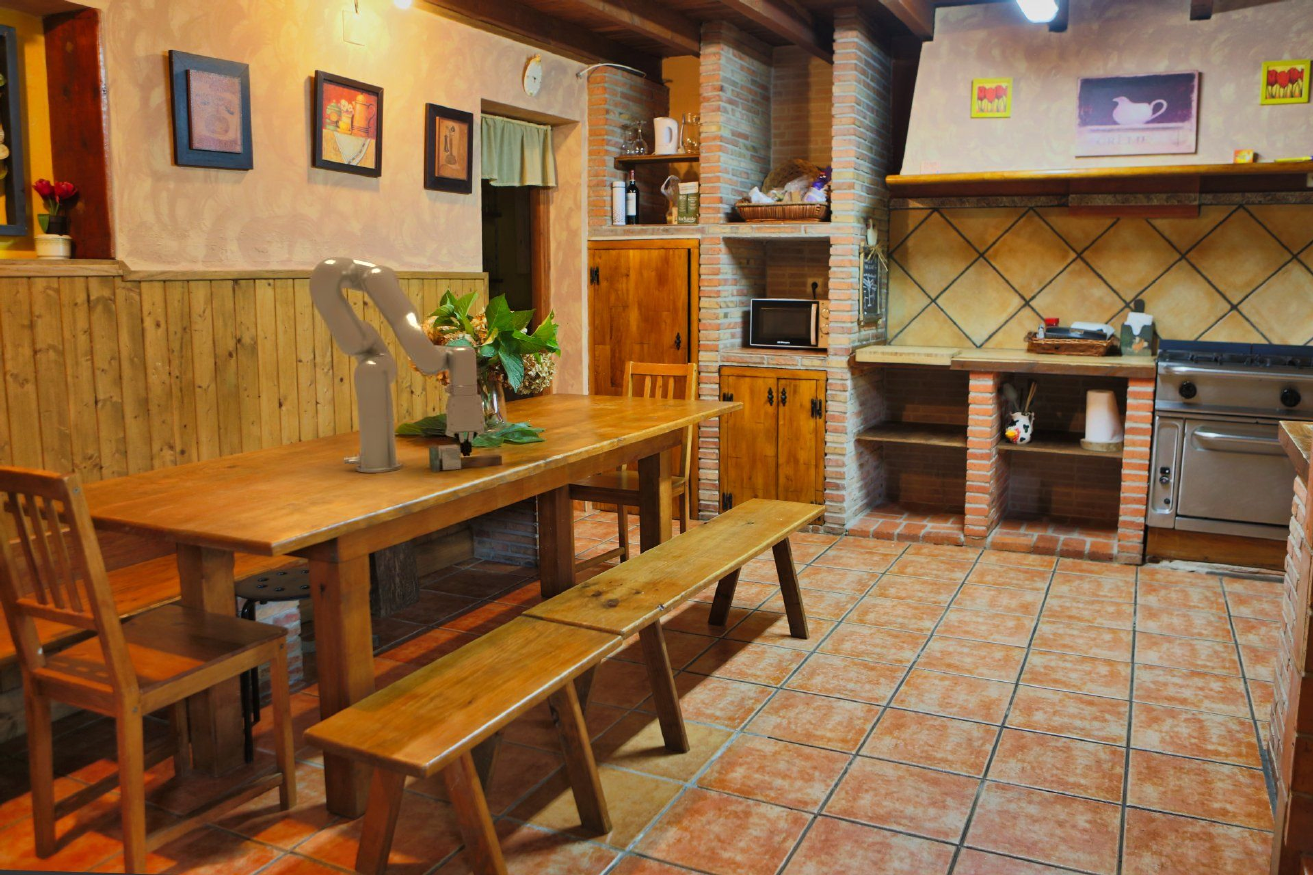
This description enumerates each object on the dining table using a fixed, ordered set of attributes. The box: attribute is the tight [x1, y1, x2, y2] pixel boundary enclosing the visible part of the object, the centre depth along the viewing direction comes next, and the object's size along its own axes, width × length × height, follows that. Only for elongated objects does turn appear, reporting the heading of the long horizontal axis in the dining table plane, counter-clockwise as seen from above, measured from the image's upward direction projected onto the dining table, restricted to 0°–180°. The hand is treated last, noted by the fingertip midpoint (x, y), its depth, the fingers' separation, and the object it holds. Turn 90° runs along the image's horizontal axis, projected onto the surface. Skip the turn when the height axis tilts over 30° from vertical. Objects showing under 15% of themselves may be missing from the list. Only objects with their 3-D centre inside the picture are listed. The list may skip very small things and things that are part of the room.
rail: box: [428, 445, 503, 473], centre depth 292 cm, size 20×8×6 cm, turn 110°
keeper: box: [437, 444, 462, 471], centre depth 291 cm, size 5×7×6 cm
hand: (466, 455), depth 292 cm, fingers closed
